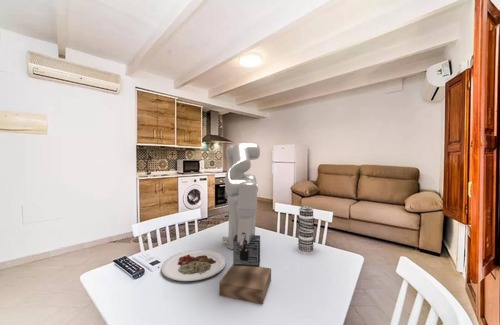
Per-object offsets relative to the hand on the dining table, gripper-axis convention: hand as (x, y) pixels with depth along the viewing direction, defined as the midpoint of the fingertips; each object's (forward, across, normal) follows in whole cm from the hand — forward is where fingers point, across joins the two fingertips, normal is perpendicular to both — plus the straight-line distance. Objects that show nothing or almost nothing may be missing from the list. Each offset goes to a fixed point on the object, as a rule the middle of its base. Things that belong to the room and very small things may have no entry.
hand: (247, 255), depth 87 cm
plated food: (+13, -9, -29) cm, 33 cm away
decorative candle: (+13, -43, +22) cm, 50 cm away
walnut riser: (+13, 0, 0) cm, 13 cm away
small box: (+3, 0, 0) cm, 3 cm away
